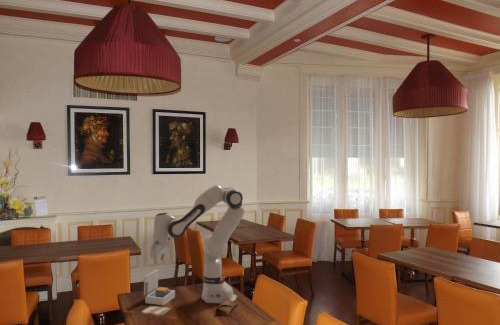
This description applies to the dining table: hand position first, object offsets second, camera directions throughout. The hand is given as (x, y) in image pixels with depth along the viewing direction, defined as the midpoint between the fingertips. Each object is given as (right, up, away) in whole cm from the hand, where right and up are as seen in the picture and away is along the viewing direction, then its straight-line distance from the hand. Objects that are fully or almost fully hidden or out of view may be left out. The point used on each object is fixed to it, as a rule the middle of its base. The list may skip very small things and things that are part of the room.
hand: (158, 262), depth 238 cm
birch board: (+2, -25, -14) cm, 29 cm away
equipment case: (0, -25, +2) cm, 25 cm away
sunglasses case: (+42, -26, -9) cm, 50 cm away
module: (+1, -24, +2) cm, 24 cm away
